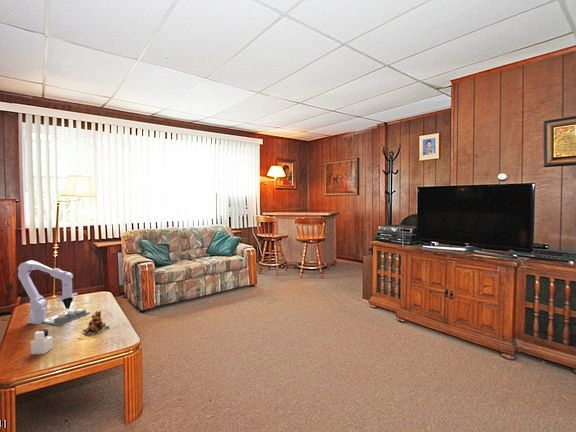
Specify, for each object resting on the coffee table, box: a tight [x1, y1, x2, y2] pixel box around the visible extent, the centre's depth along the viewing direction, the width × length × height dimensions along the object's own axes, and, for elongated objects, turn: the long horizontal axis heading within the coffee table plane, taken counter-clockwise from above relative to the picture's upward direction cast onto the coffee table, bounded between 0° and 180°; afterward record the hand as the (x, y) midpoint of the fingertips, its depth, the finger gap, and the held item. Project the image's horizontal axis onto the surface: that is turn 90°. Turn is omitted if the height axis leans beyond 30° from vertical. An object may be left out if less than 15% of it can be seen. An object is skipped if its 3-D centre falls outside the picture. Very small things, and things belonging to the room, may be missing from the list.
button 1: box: [57, 312, 65, 319], centre depth 218 cm, size 4×4×3 cm
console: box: [41, 309, 90, 326], centre depth 227 cm, size 18×24×3 cm
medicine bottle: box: [30, 328, 53, 355], centre depth 176 cm, size 7×7×12 cm
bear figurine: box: [81, 310, 111, 337], centre depth 205 cm, size 14×15×12 cm
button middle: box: [66, 309, 74, 315], centre depth 225 cm, size 4×4×3 cm
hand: (67, 308), depth 223 cm, fingers closed
